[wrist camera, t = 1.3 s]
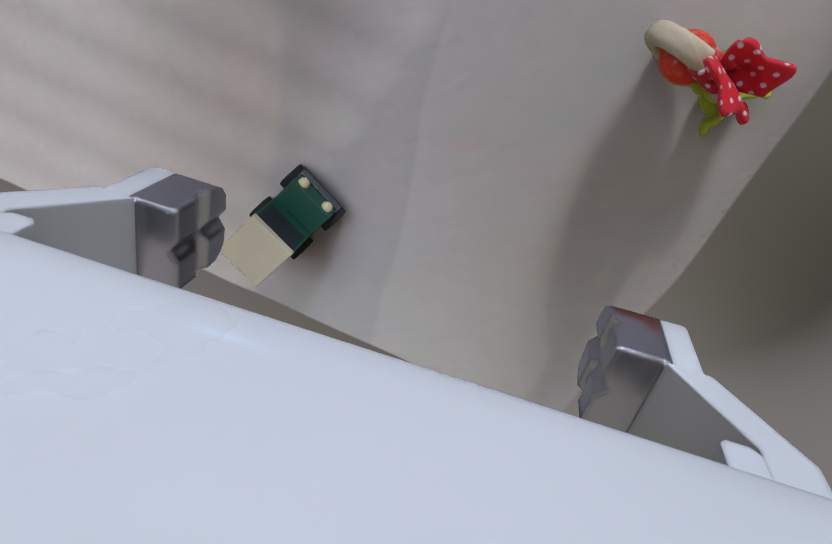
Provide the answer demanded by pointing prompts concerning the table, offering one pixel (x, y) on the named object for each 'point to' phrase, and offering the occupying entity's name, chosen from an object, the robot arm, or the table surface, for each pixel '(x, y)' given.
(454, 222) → the table surface
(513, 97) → the table surface
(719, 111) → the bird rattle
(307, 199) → the toy jeep
